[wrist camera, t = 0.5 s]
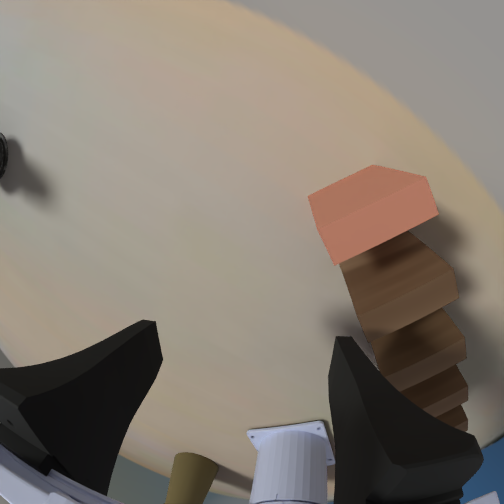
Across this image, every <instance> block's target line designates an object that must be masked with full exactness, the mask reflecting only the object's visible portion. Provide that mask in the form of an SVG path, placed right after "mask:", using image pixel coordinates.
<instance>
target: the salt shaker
mask: <svg viewBox="0 0 504 504" xmlns="http://www.w3.org/2000/svg"><path fill="white" fill-rule="evenodd" d="M7 155H8V152H7V144H6V140H5V137H4V136H3V134H2V133H0V178H1V177H2V176H3V174H4V172H5V168H6V164H7Z"/></svg>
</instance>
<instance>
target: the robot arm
mask: <svg viewBox="0 0 504 504" xmlns="http://www.w3.org/2000/svg"><path fill="white" fill-rule="evenodd" d="M162 361H163V357H162V352H161V347H160V342H159V337H158V332H157V326H156V321H149V320H141V321H139V322H137V323H135V324H133V325H131V326H129V327H127V328H125V329H123V330H121V331H120V332H118V333H116V334H114V335H112V336H110V337H109V338H107V339H105V340H103V341H101V342H99V343H97V344H95V345H93V346H91V347H88V348H86V349H84V350H82V351H80V352H77V353H75V354H72V355H69V356H66V357H64V358H61V359H57V360H53V361H50V362H46V363H42V364H37V365H32V366H26V367H18V368H1V369H0V422H1V423H0V495H1V496H2V497H3V498H4V499H6V500H7V501H8V502H9V503H10V504H124V503H122V502H119V501H116V500H114V499H111V498H109V497H107V492H108V488H109V483H110V480H111V475H112V472H113V468H114V465H115V462H116V459H117V455H118V453H119V450H120V447H121V445H122V442H123V439H124V437H125V434H126V432H127V429H128V427H129V425H130V423H131V421H132V419H133V417H134V415H135V413H136V412H137V410H138V408H139V406H140V405H141V403H142V401H143V400H144V398H145V396H146V395H147V393H148V391H149V389H150V388H151V386H152V384H153V382H154V381H155V379H156V376H157V374H158V372H159V369H160V367H161V364H162ZM328 386H329V403H330V410H331V417H332V425H333V432H334V440H335V453H336V455H335V458H334V455H333V451H332V448H331V445H330V442H329V438H328V435H327V432H326V429H325V425H324V422H323V421H313V422H307V423H301V424H294V425H287V426H279V427H271V428H261V429H251V430H248V431H247V435H248V437H249V439H250V440H251V442H252V443H253V445H254V447H255V448H256V450H257V451H258V456H257V462H256V468H255V474H254V479H253V485H252V491H251V496H250V502H249V504H327V466H328V465H333V464H335V491H334V504H460V500H459V499H460V498H462V497H463V491H462V486H463V485H464V484H465V483H466V482H467V481H468V480H469V479H470V478H471V477H472V476H473V475H474V474H475V473H476V472H477V471H478V470H479V468H480V467H481V465H482V463H483V460H484V459H483V455H482V452H481V450H480V447H479V445H478V442H477V440H476V438H475V436H474V435H471V434H469V433H466V432H464V431H461V430H459V429H457V428H454V427H452V426H450V425H448V424H446V423H444V422H442V421H440V420H439V419H437V418H435V417H433V416H432V415H430V414H428V413H427V412H425V411H424V410H423V409H421V408H420V407H418V406H417V405H415V404H414V403H413V402H411V401H410V400H409V399H408V398H406V397H405V396H404V395H403V394H402V393H400V392H399V391H398V390H397V389H396V388H395V387H394V386H393V385H392V384H391V383H390V382H389V381H388V380H387V379H386V378H385V377H384V376H383V375H382V374H381V373H380V372H379V371H378V369H377V368H376V367H375V366H374V365H373V364H372V362H371V361H370V360H369V359H368V357H367V356H366V355H365V354H364V352H363V351H362V350H361V348H360V347H359V346H358V344H357V343H356V342H355V340H354V339H353V338H352V337H343V336H336V339H335V344H334V350H333V355H332V360H331V365H330V370H329V375H328ZM465 504H500V503H499V499H498V496H497V493H496V491H493V492H491V493H488V494H486V495H484V496H481V497H479V498H476V499H474V500H471V501H469V502H467V503H465Z"/></svg>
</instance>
